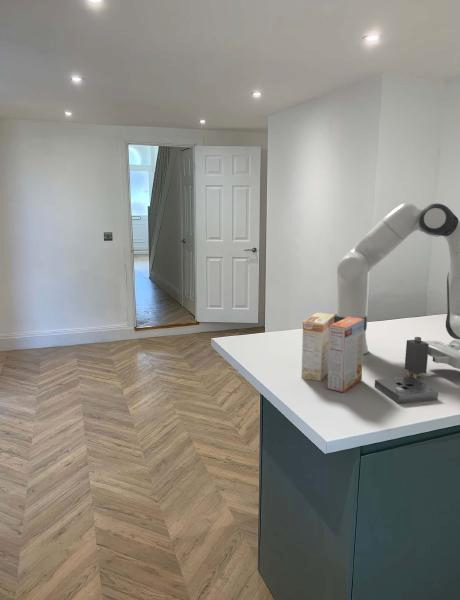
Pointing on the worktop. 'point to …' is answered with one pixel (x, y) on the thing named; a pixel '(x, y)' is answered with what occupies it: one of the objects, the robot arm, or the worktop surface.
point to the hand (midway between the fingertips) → (424, 355)
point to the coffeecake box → (316, 346)
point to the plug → (416, 357)
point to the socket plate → (406, 390)
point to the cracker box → (345, 353)
